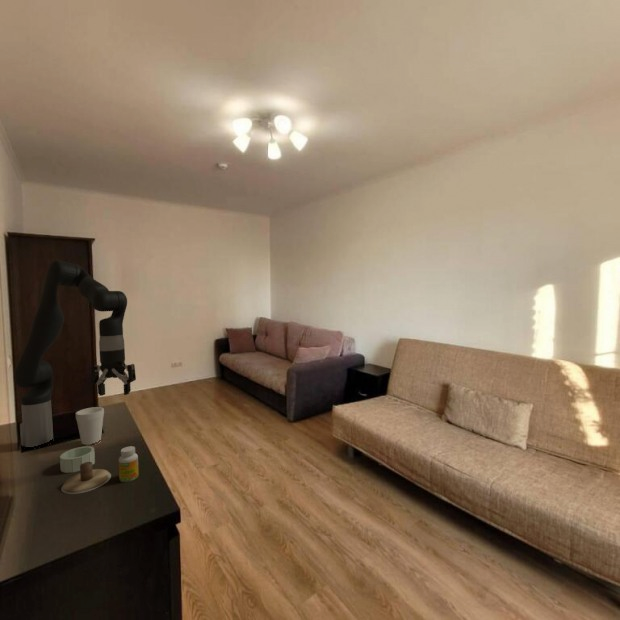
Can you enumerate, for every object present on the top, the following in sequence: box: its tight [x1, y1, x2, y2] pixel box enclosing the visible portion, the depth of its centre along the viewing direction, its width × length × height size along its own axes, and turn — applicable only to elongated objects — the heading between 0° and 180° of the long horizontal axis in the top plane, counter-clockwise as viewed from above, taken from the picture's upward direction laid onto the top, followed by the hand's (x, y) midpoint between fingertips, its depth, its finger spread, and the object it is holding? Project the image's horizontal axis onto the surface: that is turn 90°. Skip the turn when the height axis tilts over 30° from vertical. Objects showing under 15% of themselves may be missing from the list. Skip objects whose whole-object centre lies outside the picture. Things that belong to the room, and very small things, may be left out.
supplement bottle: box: [118, 445, 140, 483], centre depth 107 cm, size 5×5×10 cm
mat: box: [60, 471, 112, 495], centre depth 105 cm, size 13×13×1 cm
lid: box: [63, 462, 110, 492], centre depth 105 cm, size 12×12×6 cm
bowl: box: [59, 446, 96, 474], centre depth 116 cm, size 10×10×5 cm
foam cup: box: [75, 406, 105, 445], centre depth 136 cm, size 10×9×13 cm
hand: (114, 394), depth 118 cm, fingers open, 8 cm apart
